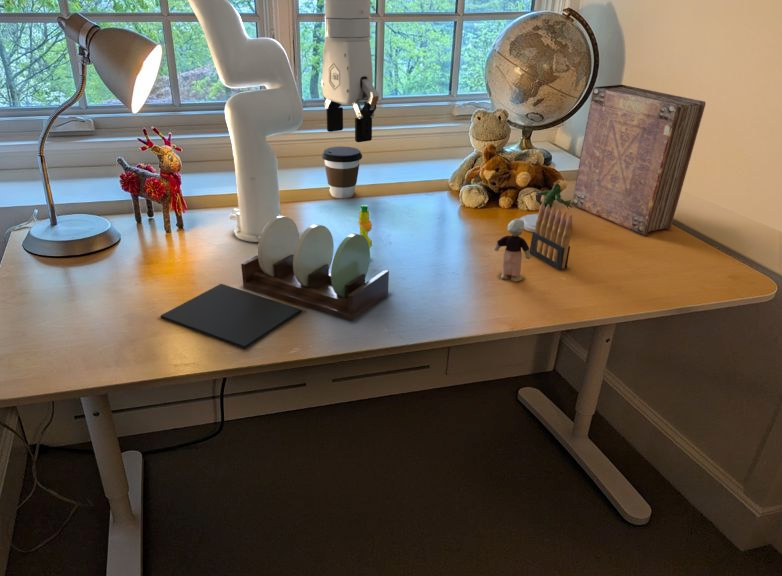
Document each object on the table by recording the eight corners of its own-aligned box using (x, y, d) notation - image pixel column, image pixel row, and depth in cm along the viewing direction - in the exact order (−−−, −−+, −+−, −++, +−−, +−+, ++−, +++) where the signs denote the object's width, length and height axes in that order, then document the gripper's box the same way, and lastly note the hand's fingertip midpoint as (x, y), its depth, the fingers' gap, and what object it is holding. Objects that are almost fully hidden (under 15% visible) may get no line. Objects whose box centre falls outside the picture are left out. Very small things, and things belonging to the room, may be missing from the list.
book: (671, 230, 158) (707, 101, 142) (644, 236, 155) (678, 105, 139) (596, 200, 177) (620, 84, 161) (571, 205, 174) (593, 86, 158)
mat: (160, 318, 117) (160, 315, 116) (221, 286, 128) (221, 283, 128) (245, 349, 108) (244, 346, 108) (301, 311, 119) (301, 309, 119)
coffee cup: (332, 203, 172) (332, 158, 166) (316, 191, 180) (315, 148, 174) (368, 197, 176) (369, 153, 170) (351, 187, 185) (351, 144, 178)
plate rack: (243, 287, 128) (240, 263, 125) (283, 265, 137) (282, 242, 135) (352, 321, 117) (352, 296, 114) (388, 295, 126) (389, 270, 123)
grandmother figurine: (528, 276, 134) (537, 218, 127) (526, 283, 131) (535, 224, 124) (492, 271, 136) (499, 213, 130) (488, 278, 133) (496, 219, 126)
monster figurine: (577, 228, 159) (586, 187, 153) (544, 237, 153) (551, 195, 148) (541, 214, 167) (548, 175, 162) (508, 222, 161) (514, 182, 156)
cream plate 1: (259, 284, 126) (254, 226, 119) (296, 263, 134) (294, 208, 128) (263, 285, 125) (259, 227, 119) (300, 264, 134) (298, 209, 128)
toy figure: (375, 265, 138) (377, 211, 131) (359, 266, 137) (360, 212, 131) (368, 253, 143) (369, 201, 137) (353, 254, 143) (353, 202, 136)
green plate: (331, 306, 118) (330, 245, 112) (365, 283, 127) (366, 225, 121) (335, 307, 118) (334, 246, 111) (369, 284, 127) (370, 226, 120)
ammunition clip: (566, 269, 138) (577, 215, 131) (560, 270, 137) (570, 216, 131) (535, 251, 146) (543, 199, 139) (528, 252, 145) (537, 200, 139)
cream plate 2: (294, 295, 122) (291, 235, 116) (330, 273, 131) (329, 216, 124) (298, 296, 122) (295, 236, 115) (334, 274, 130) (333, 217, 124)
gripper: (303, 27, 111) (307, 129, 120) (356, 35, 99) (356, 148, 108) (340, 25, 115) (341, 125, 124) (396, 33, 103) (393, 142, 112)
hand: (348, 135), depth 116 cm, fingers open, 9 cm apart
